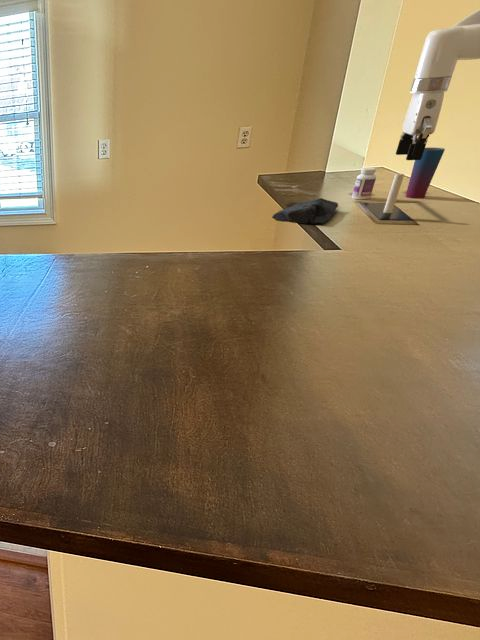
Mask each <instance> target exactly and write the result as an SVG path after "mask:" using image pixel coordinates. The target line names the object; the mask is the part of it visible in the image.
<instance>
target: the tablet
mask: <svg viewBox="0 0 480 640" xmlns="http://www.w3.org/2000/svg"><path fill="white" fill-rule="evenodd" d="M385 205H386V202H367V201H366V202H363V201H361V202H359V201H357V207H358V208H360V210H361V211H362V212H363V213H364V214H365V215H366V216H367V217H368V218H369V219H370V220H371V221H372V222H373V223H374V224H375V225H376V224H378V225H415V226H416V225H417V226H420V223H418V222H417V221H416V220H414V219H413V218H412V217H411V216H410V215H408V214H407V213H405V211H403V209H400V208H399V207H398V206H397V205H396V204H394V207H393V210H392V213H391V216H390V218H382V214H383V211H384V208H385Z"/></svg>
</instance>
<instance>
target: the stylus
mask: <svg viewBox="0 0 480 640" xmlns="http://www.w3.org/2000/svg"><path fill="white" fill-rule="evenodd" d="M404 177H405V174H404V173H395V174H394V177H393V181H392V184H391V187H390V189H389V192H388V195H387V199H386V202H385V203H386V205H385V208H384V211H383V214H382V218H390V216H391V213H392V210H393V207H394V205H396V201H397V199H398V195H399V193H400V190H401V186H402V183H403V181H404Z"/></svg>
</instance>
